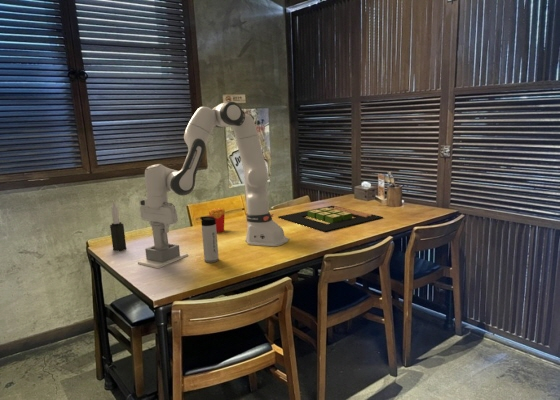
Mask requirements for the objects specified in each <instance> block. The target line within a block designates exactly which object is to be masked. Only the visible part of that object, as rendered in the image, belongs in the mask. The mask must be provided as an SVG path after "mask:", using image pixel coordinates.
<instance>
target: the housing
mask: <svg viewBox="0 0 560 400" xmlns="http://www.w3.org/2000/svg"><path fill="white" fill-rule="evenodd" d="M168 245H169V248H168V249H165V250H162V251H160V250H155V246H154V245H151V246H149V247H146V248H145V249H144V250H145V258H144V259H141V260H138V261H137V264H138V265H142V266H146V267H151V268H154V269H160V268H162V267H165V266H167V265H170V264H172V263H174V262H176V261H178V260H181V259H183V258H186V257H188V256H189V253H188V252H183V251H181V250H180V245H179V244H174V243H169V242H168Z"/></svg>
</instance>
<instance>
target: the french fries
mask: <svg viewBox="0 0 560 400" xmlns="http://www.w3.org/2000/svg"><path fill="white" fill-rule="evenodd" d="M225 211H226V209H225V208H224V207H223V208H221V207H219V208H218V207H216V208H213V209H209V210H208V217H214V218H215V219H216V231H217V233H222V232H225V213H226V212H225Z"/></svg>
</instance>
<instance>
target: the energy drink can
mask: <svg viewBox="0 0 560 400" xmlns="http://www.w3.org/2000/svg"><path fill="white" fill-rule="evenodd" d="M163 229H165V226H164V223H158V222H153V225H152V227H151V231H152V230H153V231H152V237H153V243H154V245H153V246H155V250H160V251H162V250H165V249H168V248H169V245H168V243H169V239H168V233H164V232H163Z"/></svg>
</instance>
